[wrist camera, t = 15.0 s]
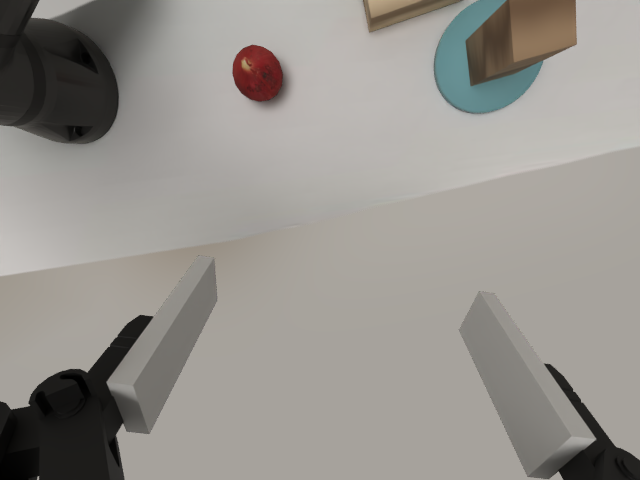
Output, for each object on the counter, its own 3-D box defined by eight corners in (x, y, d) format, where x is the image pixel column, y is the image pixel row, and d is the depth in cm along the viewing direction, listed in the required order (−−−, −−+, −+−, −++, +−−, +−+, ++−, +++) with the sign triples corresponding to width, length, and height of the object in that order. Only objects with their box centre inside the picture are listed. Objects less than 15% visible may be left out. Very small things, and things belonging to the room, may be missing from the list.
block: (514, 73, 35) (576, 44, 25) (470, 86, 36) (513, 62, 26) (511, 26, 33) (574, -24, 24) (465, 40, 34) (509, -2, 25)
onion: (296, 72, 38) (282, 53, 31) (275, 113, 40) (256, 105, 32) (257, 47, 38) (233, 21, 30) (237, 90, 39) (210, 75, 32)
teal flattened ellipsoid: (417, 93, 37) (419, 91, 36) (463, -16, 34) (467, -22, 33) (505, 127, 37) (509, 126, 36) (560, 22, 34) (567, 17, 33)
